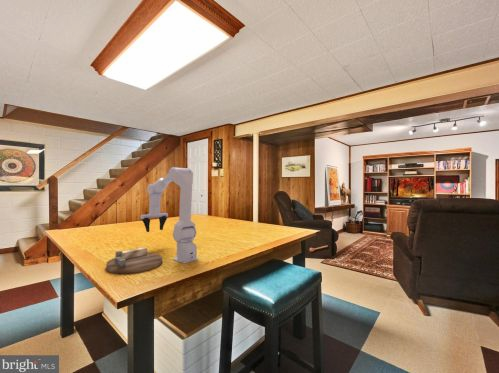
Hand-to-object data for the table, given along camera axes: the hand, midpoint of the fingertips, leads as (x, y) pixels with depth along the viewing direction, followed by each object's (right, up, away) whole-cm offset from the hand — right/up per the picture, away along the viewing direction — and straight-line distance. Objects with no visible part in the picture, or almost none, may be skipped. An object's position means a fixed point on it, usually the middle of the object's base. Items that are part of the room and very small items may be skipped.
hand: (154, 230), depth 130 cm
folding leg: (-1, -8, -23) cm, 24 cm away
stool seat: (+2, -10, -26) cm, 28 cm away
